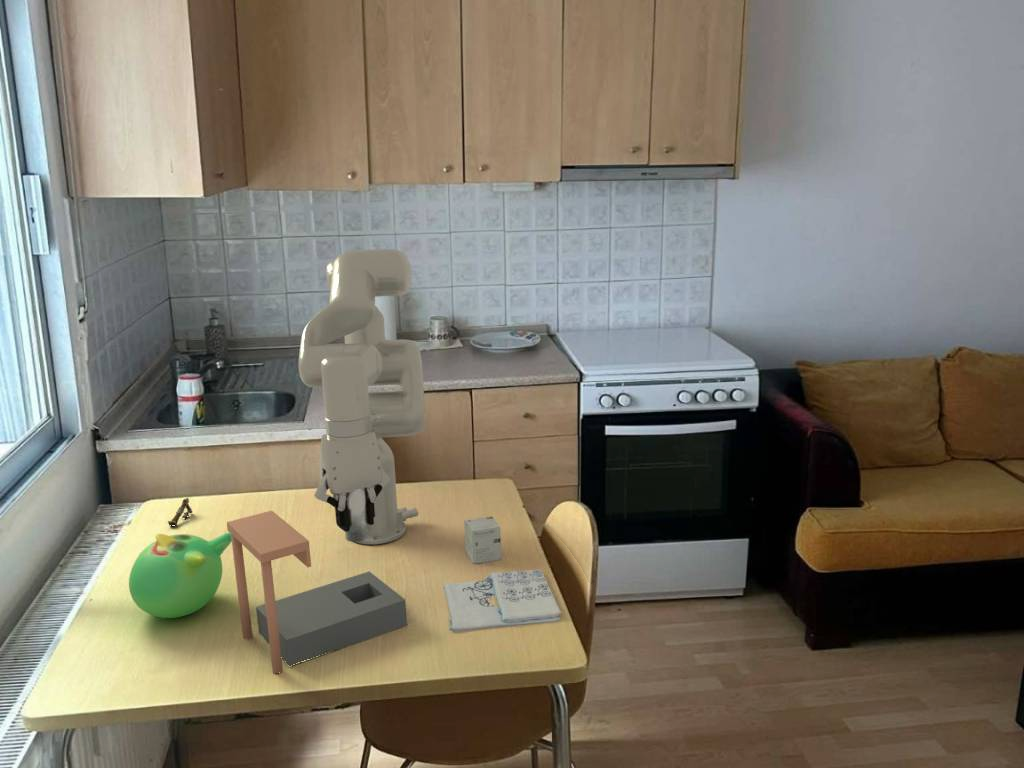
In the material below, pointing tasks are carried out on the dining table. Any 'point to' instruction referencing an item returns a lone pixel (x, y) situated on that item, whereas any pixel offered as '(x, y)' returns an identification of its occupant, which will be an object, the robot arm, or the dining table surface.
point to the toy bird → (177, 574)
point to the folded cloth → (501, 601)
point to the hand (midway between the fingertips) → (356, 524)
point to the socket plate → (334, 616)
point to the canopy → (265, 566)
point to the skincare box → (482, 539)
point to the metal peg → (357, 515)
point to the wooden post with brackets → (180, 511)
